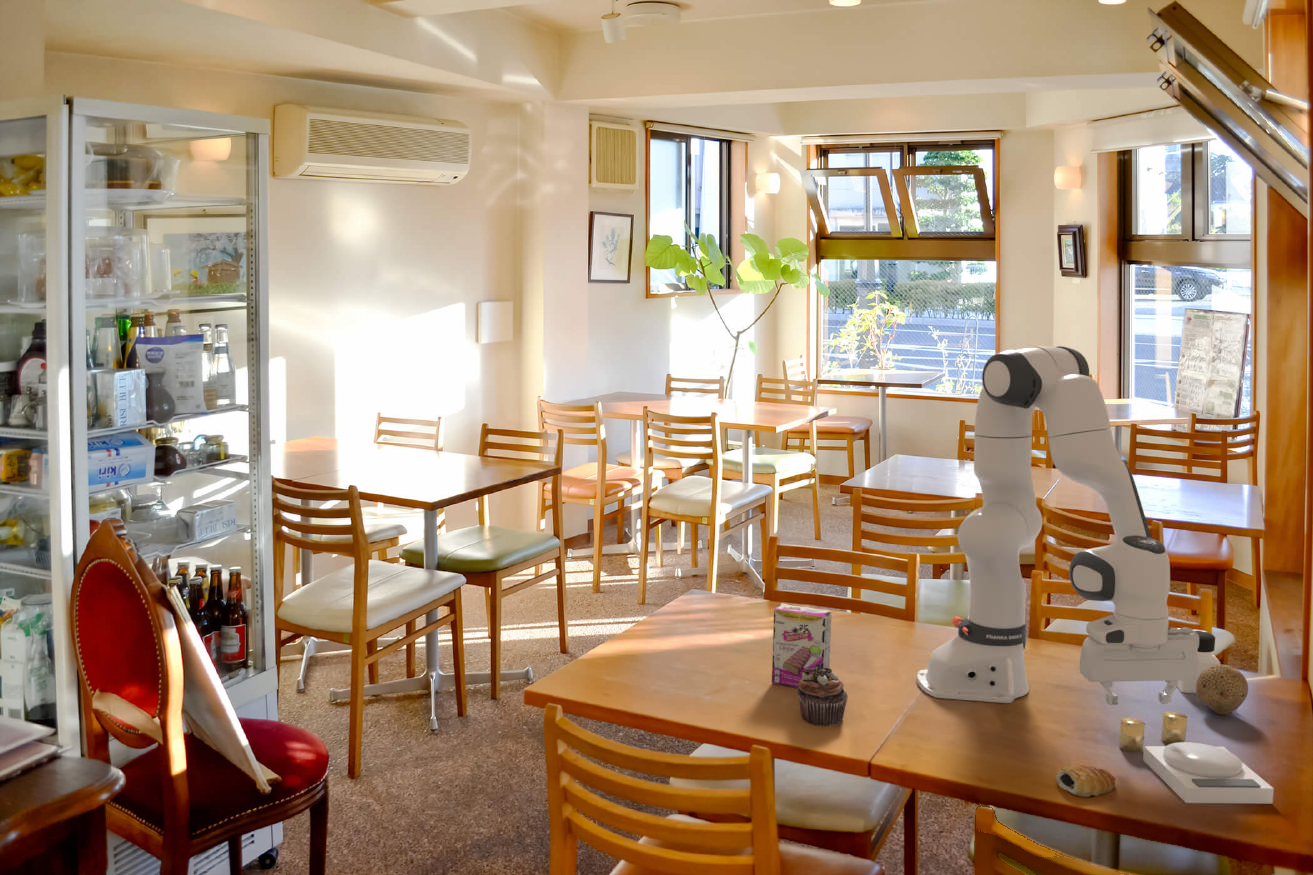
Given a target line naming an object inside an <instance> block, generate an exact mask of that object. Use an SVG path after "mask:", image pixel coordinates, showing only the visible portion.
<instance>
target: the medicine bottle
mask: <svg viewBox="0 0 1313 875" xmlns="http://www.w3.org/2000/svg"><path fill="white" fill-rule="evenodd" d="M1193 630H1194V631H1196V632H1197V634H1198V635H1199V647H1198V649H1197V650H1198V657H1199V670H1200V671H1199V675H1200V674H1201V673H1202V672H1203V671H1204V670H1205V669H1207V668H1209V667H1212V666H1214V665H1222V664H1221V662H1220V660H1219V659H1218V658H1217V657H1216V655H1214V654H1215V647H1216V646H1215V645H1216V637H1215V635H1214V634H1213V633H1210V631H1206V630H1201V629H1193ZM1192 633H1193V632H1192ZM1198 677H1199V676H1198ZM1198 677H1197V678H1196V679H1195V680H1178V687H1177V689H1178V690H1179V691H1180V693H1185V694H1196V683H1197V679H1198Z"/></svg>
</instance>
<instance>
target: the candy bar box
mask: <svg viewBox="0 0 1313 875" xmlns="http://www.w3.org/2000/svg"><path fill="white" fill-rule="evenodd" d="M831 626H832V610H828V609H822V608H821V609H820V608H815V607H809V606H802V605H795V604H787V603H779V605H777V607H775V608H774V609H773V637H772V639H773V640H772V641H773V642H772V664H771V665H772V666H771V667H772V669H771V671H772V672H771V684H772V685H777V686H784V687H788V688H794V689H798V687H799V682H800V680H801V679H802V674H803V672H804V671H805V670H812V669H814V668H815V667H816V665H820V666H821V667H822V668H829V669H830V664H831V662H830V660H831V659H830V657H831V634H832V633H831V632H832V630H831V629H832V627H831ZM823 671H826V670H824V669H823Z"/></svg>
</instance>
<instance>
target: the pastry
mask: <svg viewBox="0 0 1313 875" xmlns="http://www.w3.org/2000/svg"><path fill="white" fill-rule="evenodd" d="M1055 781H1056V782H1057V785H1059V787H1060V788H1061V789H1063V790H1065V791H1067V792H1069V793H1071V794H1072V795H1074V796H1076V795H1077V796H1079V797H1082V798H1089V797H1091V796H1095V797H1098V796H1100V795H1104V794H1106V793H1110V792H1111V791H1112V790H1114V788H1115V786H1116V778H1115V776H1114V775H1113V774H1111V773H1110V771H1108V770H1106V769H1103V768H1097V767H1094V766H1091V765H1090V766H1087V765H1084V764H1075V765H1066V767H1062V768H1061V769H1060V770H1059V771H1058V773H1057V774H1056V775H1055Z"/></svg>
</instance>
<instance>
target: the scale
mask: <svg viewBox="0 0 1313 875" xmlns="http://www.w3.org/2000/svg"><path fill="white" fill-rule="evenodd" d="M1142 753H1143V756H1142V757H1143V758H1142V760H1143V762H1144V763H1145V764H1146V765H1147V766H1148V767H1149V768H1150V769H1151V770H1152V771H1153V772H1154V773H1155V774H1156V775H1157V776H1158V777H1160V779H1161V780H1162V781H1163V782H1165V784H1166V785H1167V786H1168V787H1169V788H1171V789H1172V791H1173V792H1174V793H1175V794H1176V795H1177V796H1178V797H1180V799H1181V800H1182V801H1183V802H1184V803H1185V804H1256V805H1257V804H1258V805H1259V804H1273V800H1274V787H1273V786H1271V784H1269V783H1268V782H1266V781H1265V780H1264V779H1263V778H1262V777H1261V776H1259V775H1258V774H1257V773H1256V772H1255V771H1253V769H1251V768H1249V767H1248V765H1246V764H1245V763H1244V762H1242V760H1241V759H1240V758H1239V757H1238V756H1237V755H1235V754H1234V753H1233V752H1230V750H1228V749H1227V748H1226V747H1225V746H1214V745H1210V744H1205V743H1200V742H1191V741H1190V742H1187V741H1185V742H1179V743H1173V744H1169V745H1167V744H1166V745H1165V746H1164V745H1163V746H1161V745H1160V746H1159V745H1158V746H1157V745H1155V746H1154V745H1143V752H1142Z"/></svg>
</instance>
